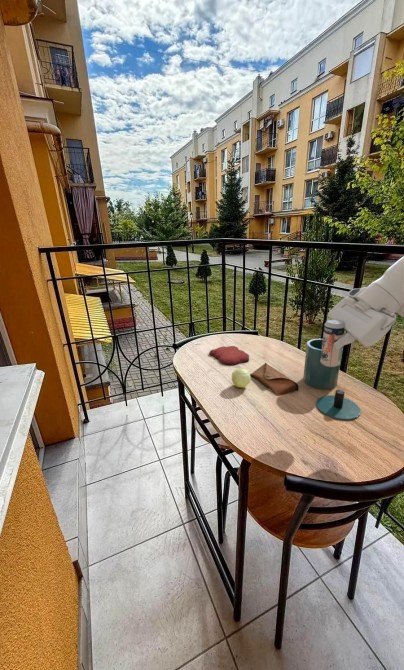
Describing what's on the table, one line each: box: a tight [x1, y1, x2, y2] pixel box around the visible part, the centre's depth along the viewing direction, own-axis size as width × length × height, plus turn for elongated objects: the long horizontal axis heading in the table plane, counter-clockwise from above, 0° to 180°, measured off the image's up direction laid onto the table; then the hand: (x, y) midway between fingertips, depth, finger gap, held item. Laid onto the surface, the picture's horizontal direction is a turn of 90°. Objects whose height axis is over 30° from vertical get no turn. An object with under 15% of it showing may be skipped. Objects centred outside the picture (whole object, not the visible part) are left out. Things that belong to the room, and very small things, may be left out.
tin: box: [302, 338, 343, 391], centre depth 96 cm, size 11×11×14 cm
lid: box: [315, 389, 362, 421], centre depth 82 cm, size 12×12×6 cm
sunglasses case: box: [249, 362, 299, 397], centre depth 99 cm, size 18×7×7 cm
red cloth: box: [208, 345, 250, 366], centre depth 121 cm, size 18×14×2 cm
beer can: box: [320, 319, 345, 367], centre depth 73 cm, size 5×5×12 cm
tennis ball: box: [231, 368, 252, 388], centre depth 97 cm, size 6×7×7 cm
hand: (330, 342), depth 73 cm, fingers closed on beer can, 5 cm apart
